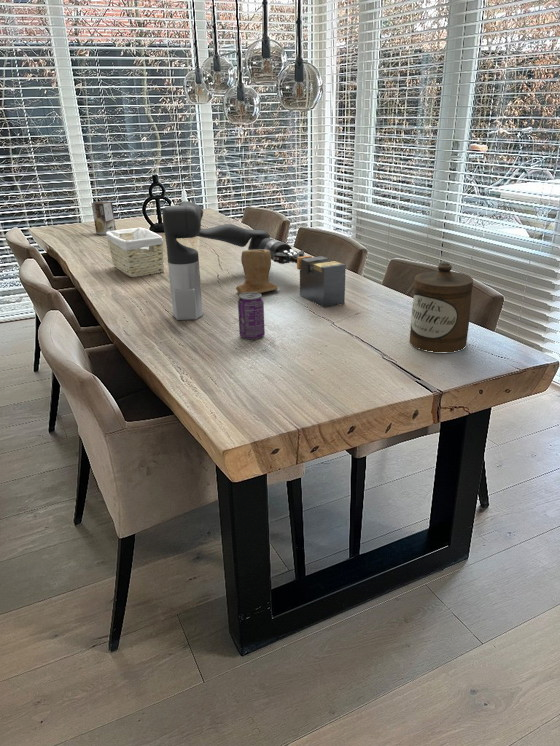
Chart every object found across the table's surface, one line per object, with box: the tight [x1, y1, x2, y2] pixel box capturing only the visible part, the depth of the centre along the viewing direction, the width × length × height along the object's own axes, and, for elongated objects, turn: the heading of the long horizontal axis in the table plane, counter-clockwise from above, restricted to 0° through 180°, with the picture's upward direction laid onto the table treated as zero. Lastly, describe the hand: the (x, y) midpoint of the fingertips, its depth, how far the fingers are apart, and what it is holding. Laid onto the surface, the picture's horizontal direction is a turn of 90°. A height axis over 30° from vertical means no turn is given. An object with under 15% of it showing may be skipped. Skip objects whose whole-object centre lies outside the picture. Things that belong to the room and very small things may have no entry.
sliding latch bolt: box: [296, 254, 314, 271], centre depth 190 cm, size 18×5×4 cm, turn 28°
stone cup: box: [235, 249, 279, 295], centre depth 198 cm, size 15×12×15 cm
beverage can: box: [237, 292, 266, 340], centre depth 160 cm, size 7×7×12 cm
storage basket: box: [105, 226, 165, 278], centre depth 229 cm, size 24×16×15 cm
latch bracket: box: [299, 255, 347, 309], centre depth 189 cm, size 16×8×13 cm, turn 28°
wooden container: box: [409, 261, 474, 353], centre depth 150 cm, size 15×15×22 cm
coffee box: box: [91, 200, 117, 236], centre depth 300 cm, size 9×6×16 cm
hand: (301, 261), depth 199 cm, fingers closed
